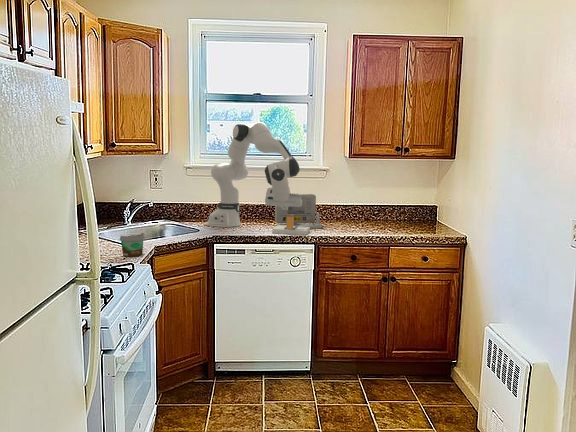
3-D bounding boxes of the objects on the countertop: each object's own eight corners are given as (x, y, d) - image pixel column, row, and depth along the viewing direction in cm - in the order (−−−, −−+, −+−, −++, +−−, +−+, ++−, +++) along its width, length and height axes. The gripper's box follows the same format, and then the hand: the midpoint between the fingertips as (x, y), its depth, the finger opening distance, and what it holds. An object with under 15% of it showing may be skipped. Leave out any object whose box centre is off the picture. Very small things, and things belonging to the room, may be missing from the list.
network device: (312, 223, 359) (313, 193, 356) (316, 226, 350) (317, 195, 347) (274, 224, 352) (274, 193, 349) (277, 227, 344) (278, 195, 341)
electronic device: (298, 213, 342) (320, 211, 347) (298, 228, 344) (320, 226, 348) (300, 214, 337) (323, 212, 342) (300, 230, 339) (323, 228, 343)
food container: (127, 259, 250) (127, 237, 249) (120, 257, 254) (119, 235, 253) (150, 255, 259) (150, 234, 258) (143, 253, 263) (142, 232, 262)
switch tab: (286, 229, 322) (286, 214, 321) (287, 228, 325) (287, 214, 324) (292, 229, 321) (293, 215, 320) (293, 228, 325) (294, 214, 323)
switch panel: (272, 233, 323) (272, 227, 322) (277, 229, 336) (277, 223, 336) (305, 235, 319) (306, 229, 319) (309, 231, 333) (309, 225, 332)
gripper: (301, 189, 295) (304, 205, 306) (264, 188, 299) (268, 203, 310) (300, 198, 291) (302, 214, 302) (262, 197, 295) (266, 212, 306)
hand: (285, 209), depth 306 cm, fingers closed
